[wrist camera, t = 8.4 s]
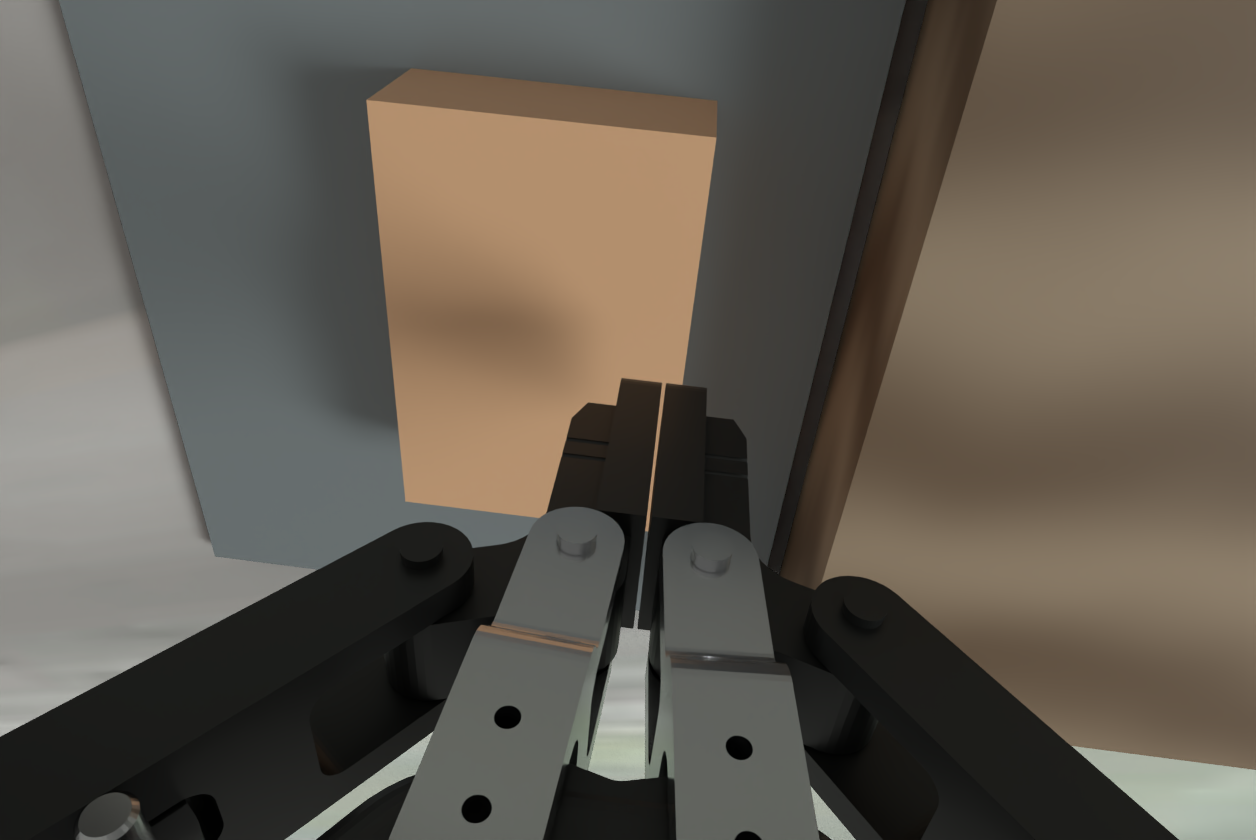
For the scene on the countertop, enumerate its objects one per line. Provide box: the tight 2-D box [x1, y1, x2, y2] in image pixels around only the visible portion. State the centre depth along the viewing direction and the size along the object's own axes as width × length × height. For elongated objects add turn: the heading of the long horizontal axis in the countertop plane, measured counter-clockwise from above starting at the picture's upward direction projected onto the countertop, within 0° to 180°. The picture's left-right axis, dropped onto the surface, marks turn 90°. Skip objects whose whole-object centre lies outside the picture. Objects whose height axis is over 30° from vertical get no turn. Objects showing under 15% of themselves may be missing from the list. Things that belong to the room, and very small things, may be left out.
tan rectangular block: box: [366, 68, 717, 531], centre depth 18 cm, size 9×6×2 cm, turn 175°
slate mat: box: [59, 0, 906, 610], centre depth 19 cm, size 20×16×1 cm
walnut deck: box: [780, 0, 1256, 770], centre depth 17 cm, size 18×14×4 cm
